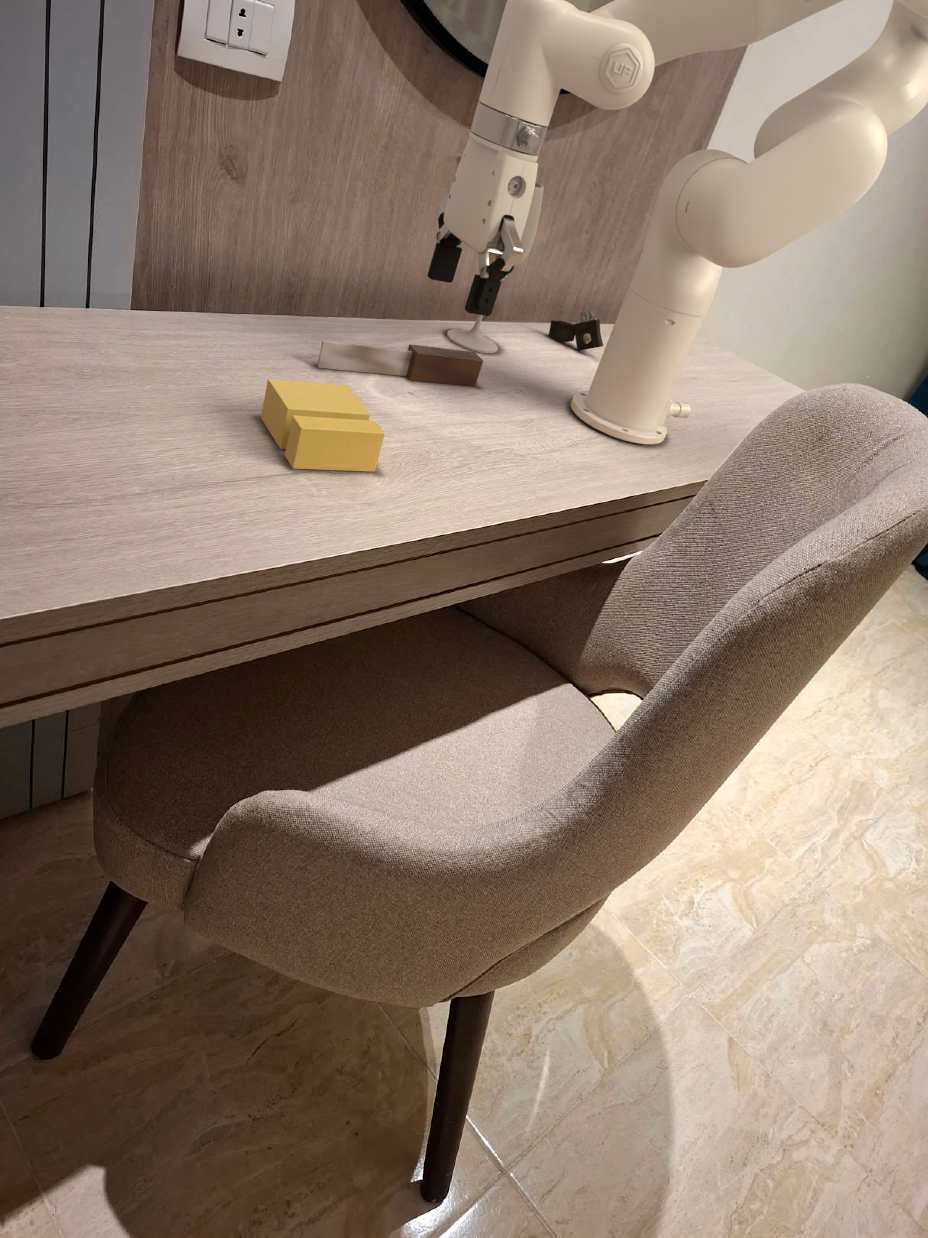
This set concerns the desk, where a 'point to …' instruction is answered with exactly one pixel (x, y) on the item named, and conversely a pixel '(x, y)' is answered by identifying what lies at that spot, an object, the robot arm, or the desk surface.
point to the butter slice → (333, 444)
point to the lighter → (578, 332)
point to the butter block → (306, 405)
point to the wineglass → (474, 337)
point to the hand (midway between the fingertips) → (457, 296)
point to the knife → (404, 362)
